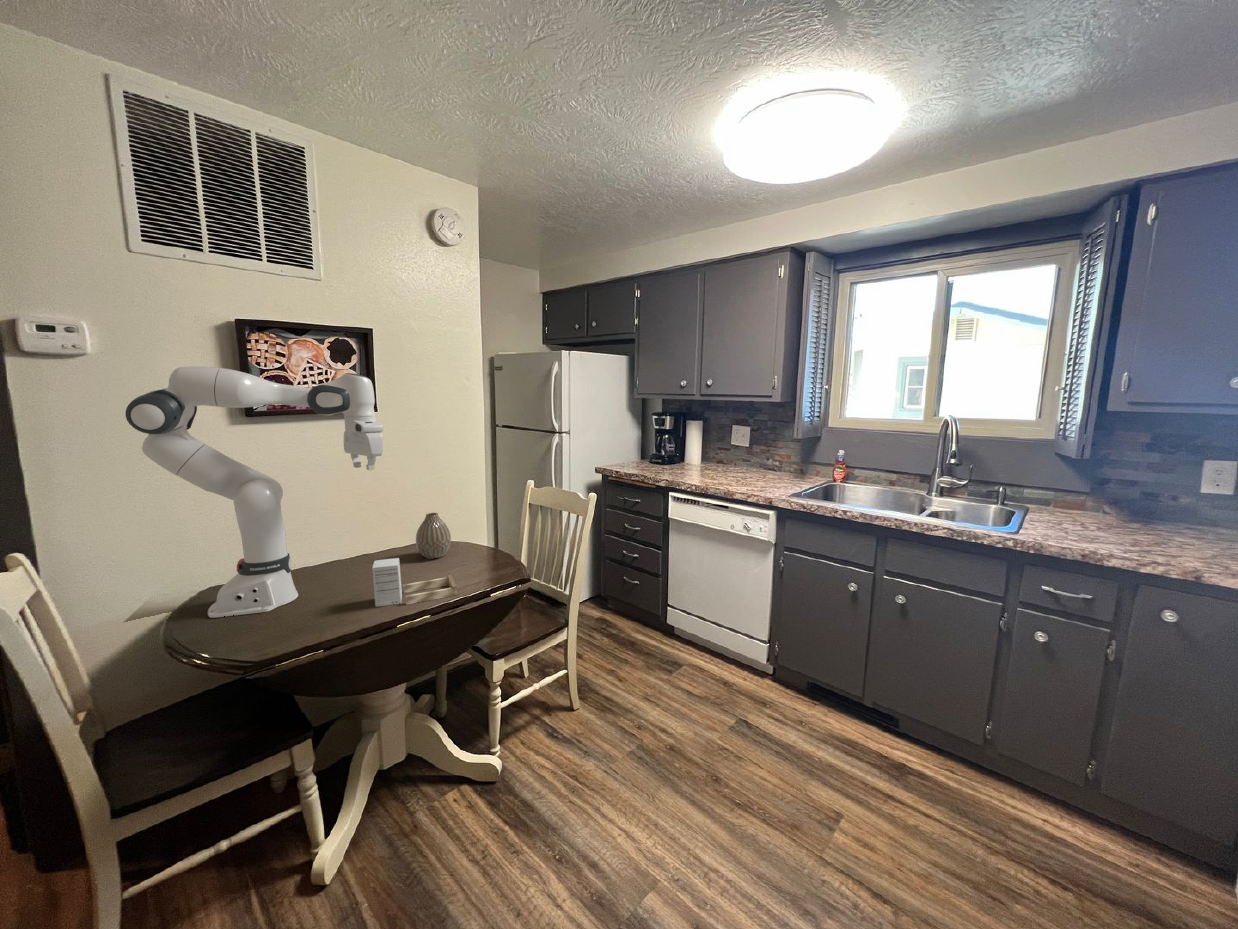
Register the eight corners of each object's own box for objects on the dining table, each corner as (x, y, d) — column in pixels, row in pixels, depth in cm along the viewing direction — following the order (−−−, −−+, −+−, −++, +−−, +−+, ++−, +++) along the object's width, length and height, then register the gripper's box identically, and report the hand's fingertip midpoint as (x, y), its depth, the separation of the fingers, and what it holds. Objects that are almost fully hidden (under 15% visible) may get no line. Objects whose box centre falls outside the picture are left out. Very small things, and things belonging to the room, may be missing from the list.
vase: (456, 551, 202) (453, 509, 200) (445, 561, 189) (442, 517, 187) (424, 551, 202) (421, 510, 199) (411, 562, 189) (408, 518, 186)
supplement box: (377, 598, 155) (374, 560, 153) (402, 594, 158) (399, 557, 156) (374, 607, 148) (371, 567, 147) (401, 603, 151) (398, 564, 149)
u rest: (406, 604, 150) (405, 595, 150) (403, 591, 160) (402, 583, 160) (457, 595, 157) (456, 586, 156) (451, 583, 167) (451, 575, 166)
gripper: (336, 424, 159) (339, 467, 161) (364, 427, 146) (368, 472, 148) (356, 424, 164) (359, 465, 166) (385, 426, 151) (388, 470, 153)
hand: (363, 468), depth 157 cm, fingers open, 8 cm apart
